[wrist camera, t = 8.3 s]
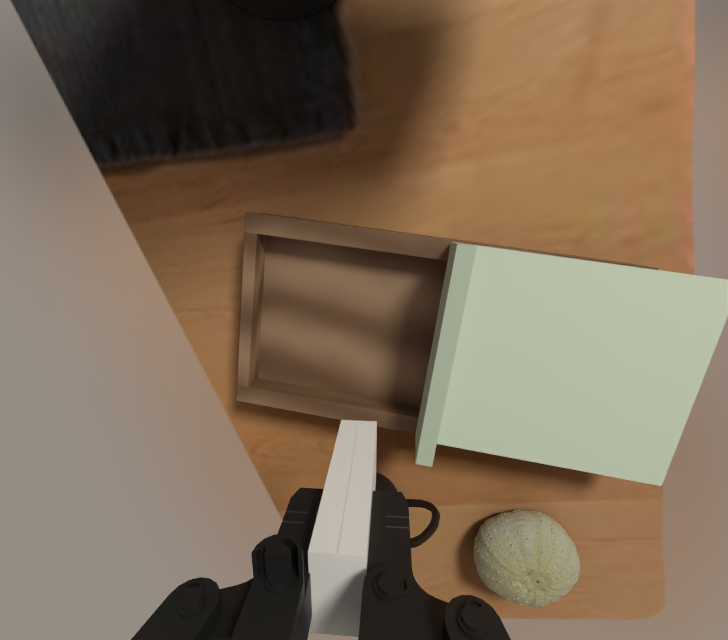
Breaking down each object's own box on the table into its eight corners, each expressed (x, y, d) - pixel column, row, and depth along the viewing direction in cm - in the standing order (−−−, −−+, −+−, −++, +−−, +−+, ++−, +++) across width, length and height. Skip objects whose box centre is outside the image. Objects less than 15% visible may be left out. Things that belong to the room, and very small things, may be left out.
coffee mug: (335, 535, 40) (310, 633, 30) (318, 464, 38) (285, 544, 29) (446, 529, 38) (456, 631, 28) (433, 453, 36) (440, 536, 27)
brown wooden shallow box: (265, 213, 33) (245, 211, 29) (627, 263, 30) (658, 268, 26) (255, 382, 37) (236, 400, 33) (572, 439, 34) (592, 466, 30)
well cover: (451, 241, 27) (457, 244, 23) (731, 280, 25) (787, 289, 22) (415, 434, 31) (415, 463, 27) (655, 479, 30) (691, 517, 26)
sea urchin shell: (465, 512, 35) (550, 569, 29) (512, 476, 40) (594, 520, 34) (462, 590, 37) (541, 660, 31) (508, 548, 42) (584, 602, 36)
